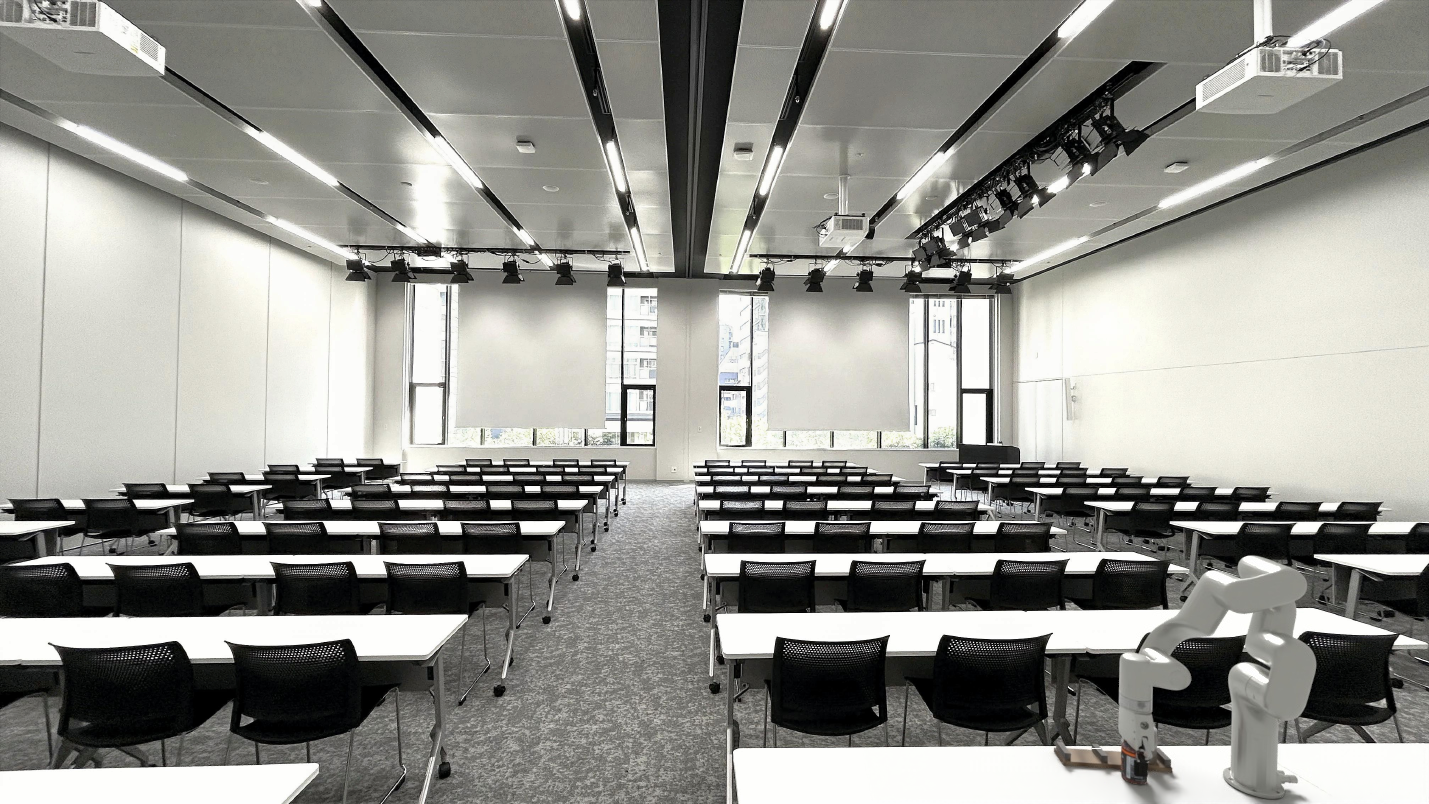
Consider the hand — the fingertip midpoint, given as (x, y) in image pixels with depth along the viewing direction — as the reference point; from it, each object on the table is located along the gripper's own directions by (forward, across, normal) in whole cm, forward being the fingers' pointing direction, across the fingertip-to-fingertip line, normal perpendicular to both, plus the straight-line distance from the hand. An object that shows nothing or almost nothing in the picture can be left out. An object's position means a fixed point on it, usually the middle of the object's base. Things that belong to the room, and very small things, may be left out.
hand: (1134, 767), depth 178 cm
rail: (+3, +8, +2) cm, 9 cm away
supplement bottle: (+3, 0, 0) cm, 3 cm away
